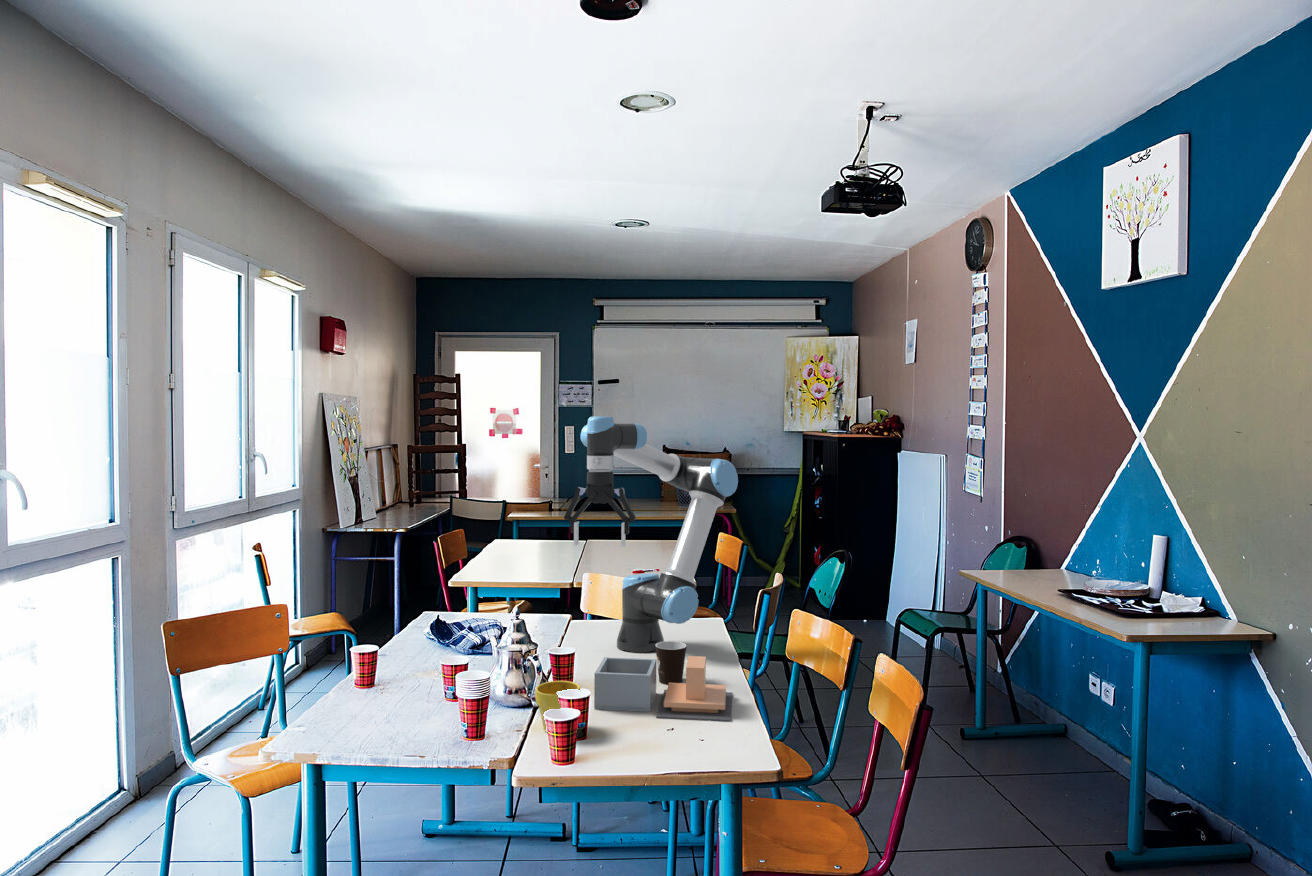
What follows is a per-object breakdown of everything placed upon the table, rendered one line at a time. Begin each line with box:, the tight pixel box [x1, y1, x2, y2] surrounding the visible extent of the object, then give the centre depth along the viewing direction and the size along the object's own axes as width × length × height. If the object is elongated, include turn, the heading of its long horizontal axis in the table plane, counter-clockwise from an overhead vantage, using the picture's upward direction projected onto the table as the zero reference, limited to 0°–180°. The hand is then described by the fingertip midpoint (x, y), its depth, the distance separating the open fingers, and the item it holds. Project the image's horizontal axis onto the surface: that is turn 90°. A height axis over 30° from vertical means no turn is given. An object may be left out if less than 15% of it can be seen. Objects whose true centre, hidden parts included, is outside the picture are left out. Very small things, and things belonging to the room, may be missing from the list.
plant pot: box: [535, 680, 581, 730], centre depth 187 cm, size 10×10×10 cm
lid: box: [664, 655, 727, 713], centre depth 203 cm, size 15×15×11 cm
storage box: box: [593, 656, 657, 713], centre depth 206 cm, size 14×14×9 cm
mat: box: [655, 689, 733, 722], centre depth 204 cm, size 20×18×1 cm
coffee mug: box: [655, 640, 687, 686], centre depth 224 cm, size 12×9×10 cm
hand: (599, 545), depth 228 cm, fingers open, 13 cm apart
